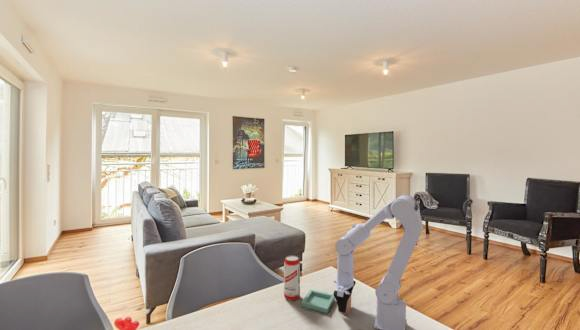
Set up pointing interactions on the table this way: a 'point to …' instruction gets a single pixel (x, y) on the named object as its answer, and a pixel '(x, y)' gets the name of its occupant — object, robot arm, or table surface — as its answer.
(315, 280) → the table surface
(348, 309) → the shaker
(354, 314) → the table surface
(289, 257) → the beer can
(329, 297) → the tray
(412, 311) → the table surface
